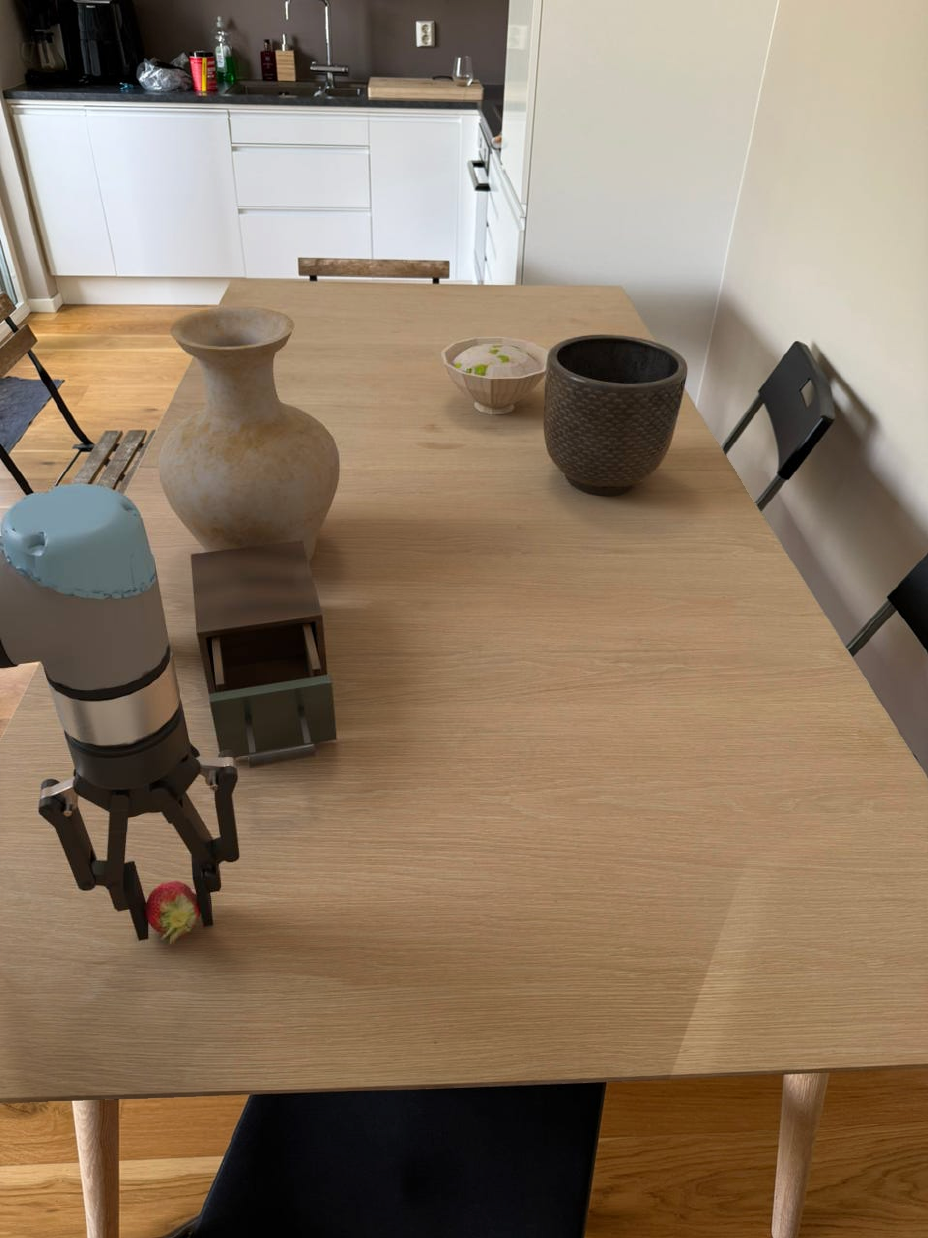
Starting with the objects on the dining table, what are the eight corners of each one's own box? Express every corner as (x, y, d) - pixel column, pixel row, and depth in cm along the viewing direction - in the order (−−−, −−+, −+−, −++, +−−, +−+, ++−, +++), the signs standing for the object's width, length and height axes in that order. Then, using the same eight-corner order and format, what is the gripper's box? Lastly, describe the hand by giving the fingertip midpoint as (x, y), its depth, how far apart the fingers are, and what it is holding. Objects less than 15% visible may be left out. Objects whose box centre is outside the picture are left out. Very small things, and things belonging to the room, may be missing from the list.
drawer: (347, 785, 85) (343, 726, 80) (225, 808, 82) (213, 749, 78) (316, 656, 100) (311, 600, 95) (212, 672, 97) (202, 615, 92)
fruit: (191, 883, 76) (182, 846, 73) (212, 938, 72) (204, 901, 69) (140, 903, 74) (129, 866, 71) (159, 961, 70) (148, 924, 67)
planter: (577, 523, 126) (592, 396, 114) (514, 461, 140) (522, 343, 128) (691, 497, 133) (717, 374, 121) (621, 441, 147) (638, 326, 135)
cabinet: (328, 683, 98) (322, 614, 92) (210, 703, 95) (196, 632, 89) (309, 606, 109) (302, 539, 103) (203, 621, 106) (190, 553, 100)
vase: (249, 493, 130) (221, 283, 111) (376, 535, 122) (368, 316, 103) (140, 566, 114) (86, 336, 96) (277, 619, 106) (246, 380, 88)
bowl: (431, 424, 150) (431, 367, 143) (448, 379, 165) (449, 326, 159) (545, 434, 148) (550, 376, 142) (552, 388, 163) (557, 334, 157)
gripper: (251, 656, 64) (277, 861, 78) (-14, 693, 59) (65, 903, 74) (262, 728, 58) (288, 935, 72) (-31, 774, 54) (59, 985, 68)
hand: (175, 918), depth 73 cm, fingers closed on fruit, 4 cm apart
